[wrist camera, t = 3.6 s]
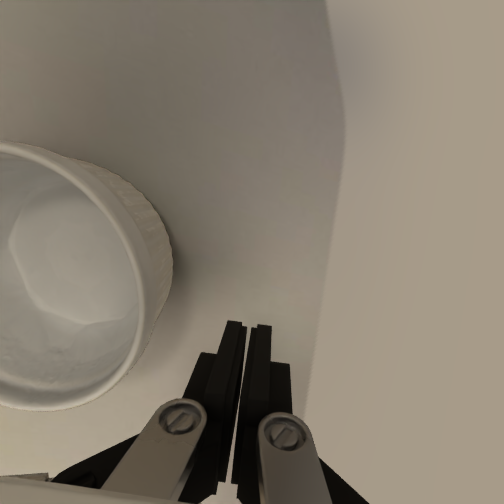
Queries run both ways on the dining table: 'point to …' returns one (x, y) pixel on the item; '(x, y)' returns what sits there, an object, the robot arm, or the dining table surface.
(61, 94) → the dining table surface
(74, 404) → the ramekin
